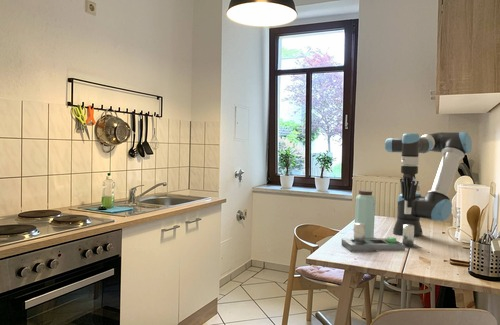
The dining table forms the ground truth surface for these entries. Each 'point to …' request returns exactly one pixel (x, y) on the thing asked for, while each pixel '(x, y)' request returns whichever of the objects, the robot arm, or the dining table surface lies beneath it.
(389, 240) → the button
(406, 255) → the dining table surface
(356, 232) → the cylinder
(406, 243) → the billet
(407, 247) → the pad
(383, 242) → the tray
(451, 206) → the robot arm
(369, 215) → the water bottle
